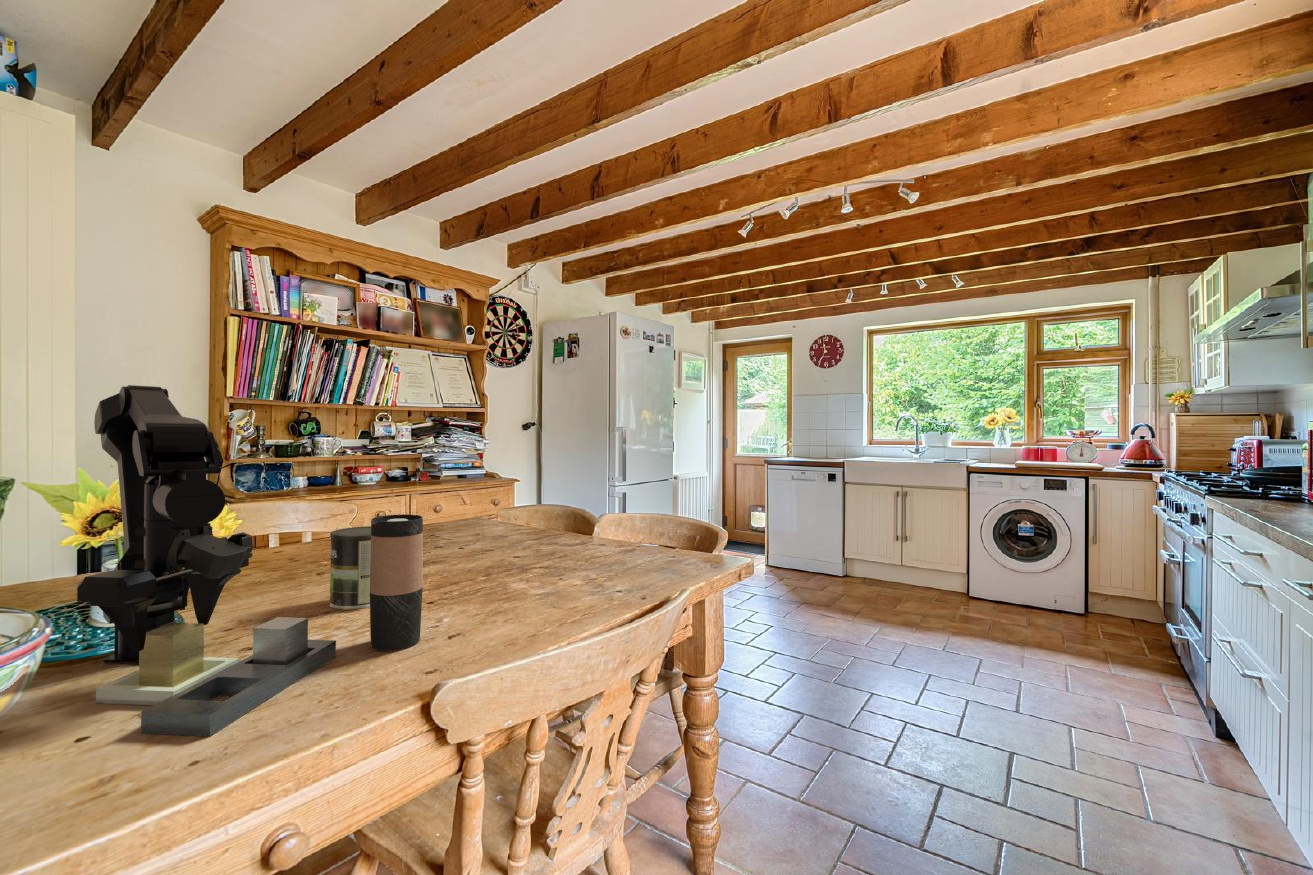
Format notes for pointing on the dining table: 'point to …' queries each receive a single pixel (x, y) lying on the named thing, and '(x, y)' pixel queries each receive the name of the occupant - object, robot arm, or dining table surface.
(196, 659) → the beige wooden block
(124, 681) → the tray
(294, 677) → the rail
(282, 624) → the grey square block
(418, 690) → the dining table surface
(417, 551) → the travel mug
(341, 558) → the coffee can
